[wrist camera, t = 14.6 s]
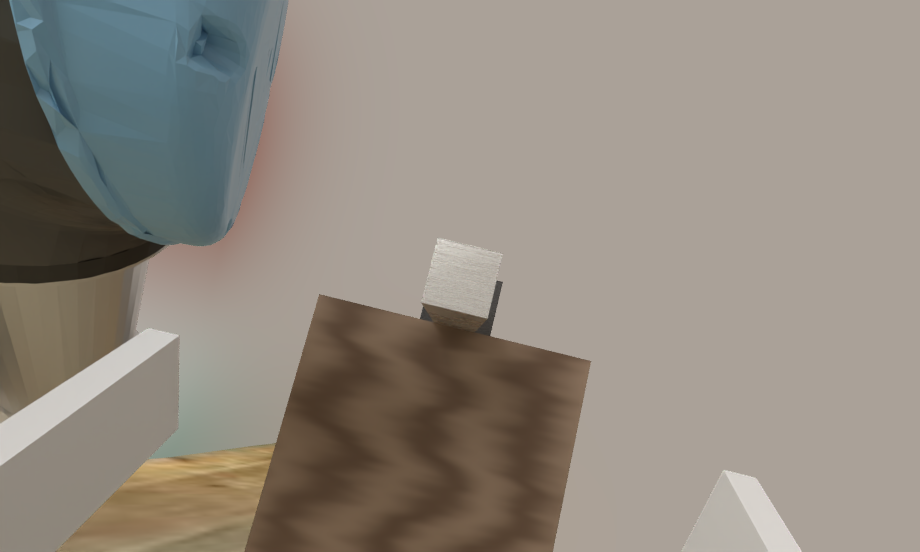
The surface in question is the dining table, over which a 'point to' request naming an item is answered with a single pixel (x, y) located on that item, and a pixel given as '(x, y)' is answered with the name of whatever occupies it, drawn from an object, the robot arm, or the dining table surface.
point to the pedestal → (419, 440)
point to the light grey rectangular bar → (462, 287)
